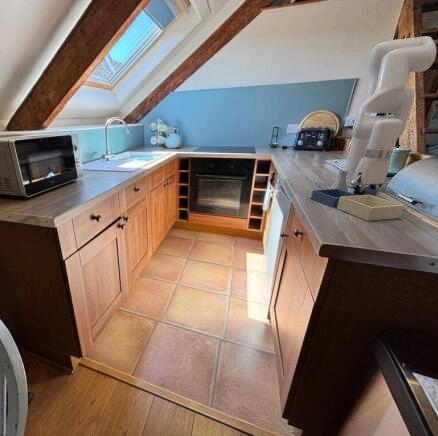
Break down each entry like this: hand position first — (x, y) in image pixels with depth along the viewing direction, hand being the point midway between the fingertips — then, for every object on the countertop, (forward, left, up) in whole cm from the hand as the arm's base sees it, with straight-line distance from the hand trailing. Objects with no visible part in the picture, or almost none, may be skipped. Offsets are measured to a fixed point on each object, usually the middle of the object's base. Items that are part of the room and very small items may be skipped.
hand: (362, 199), depth 99 cm
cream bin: (+11, +12, 0) cm, 16 cm away
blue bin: (+12, -1, 0) cm, 12 cm away
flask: (+1, -11, -1) cm, 11 cm away
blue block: (0, 0, 0) cm, 0 cm away
